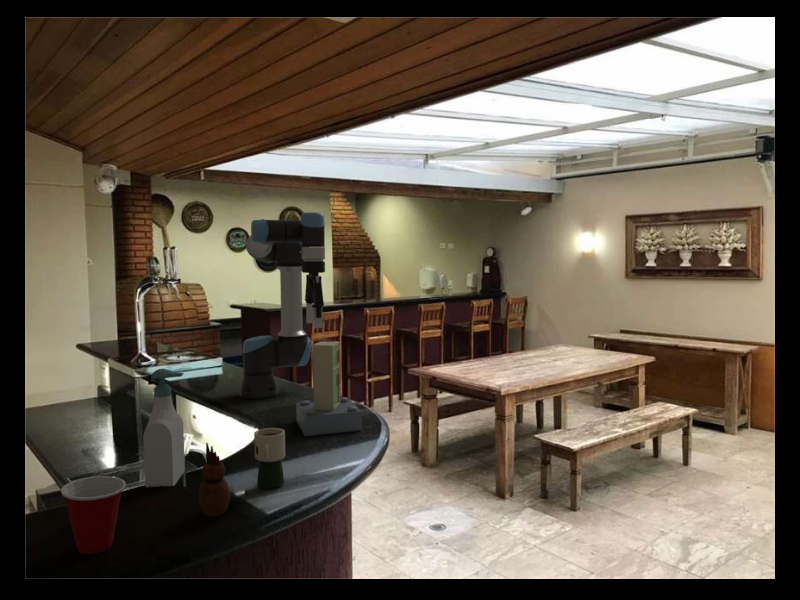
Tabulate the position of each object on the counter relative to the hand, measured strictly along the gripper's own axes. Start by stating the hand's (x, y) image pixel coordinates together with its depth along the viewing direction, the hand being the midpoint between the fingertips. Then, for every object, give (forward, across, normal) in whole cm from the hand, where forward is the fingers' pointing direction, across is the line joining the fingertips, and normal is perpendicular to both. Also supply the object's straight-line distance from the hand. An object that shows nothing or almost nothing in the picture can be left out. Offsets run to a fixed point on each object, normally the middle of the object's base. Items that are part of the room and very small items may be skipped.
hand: (314, 325), depth 193 cm
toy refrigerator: (+26, +6, +3) cm, 27 cm away
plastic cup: (+31, +72, -55) cm, 96 cm away
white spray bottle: (+32, +39, -44) cm, 66 cm away
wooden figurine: (+31, +64, -33) cm, 79 cm away
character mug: (+31, +52, -20) cm, 64 cm away
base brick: (+32, +6, +3) cm, 33 cm away
